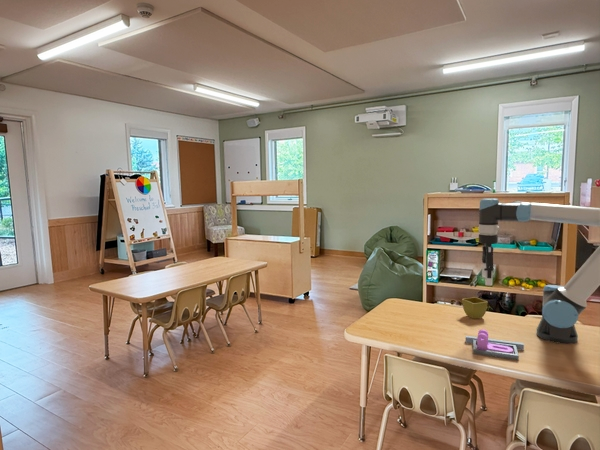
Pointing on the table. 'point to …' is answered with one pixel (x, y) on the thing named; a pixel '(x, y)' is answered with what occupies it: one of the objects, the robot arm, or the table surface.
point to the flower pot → (474, 307)
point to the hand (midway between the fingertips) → (486, 281)
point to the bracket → (484, 345)
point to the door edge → (518, 345)
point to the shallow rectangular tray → (496, 354)
